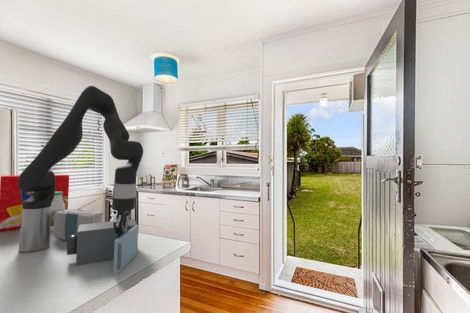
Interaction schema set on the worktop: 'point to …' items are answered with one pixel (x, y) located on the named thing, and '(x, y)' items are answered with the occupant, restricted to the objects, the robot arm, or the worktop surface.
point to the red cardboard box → (21, 200)
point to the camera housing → (94, 242)
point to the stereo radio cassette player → (73, 221)
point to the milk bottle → (56, 207)
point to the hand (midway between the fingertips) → (121, 243)
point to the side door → (125, 249)
